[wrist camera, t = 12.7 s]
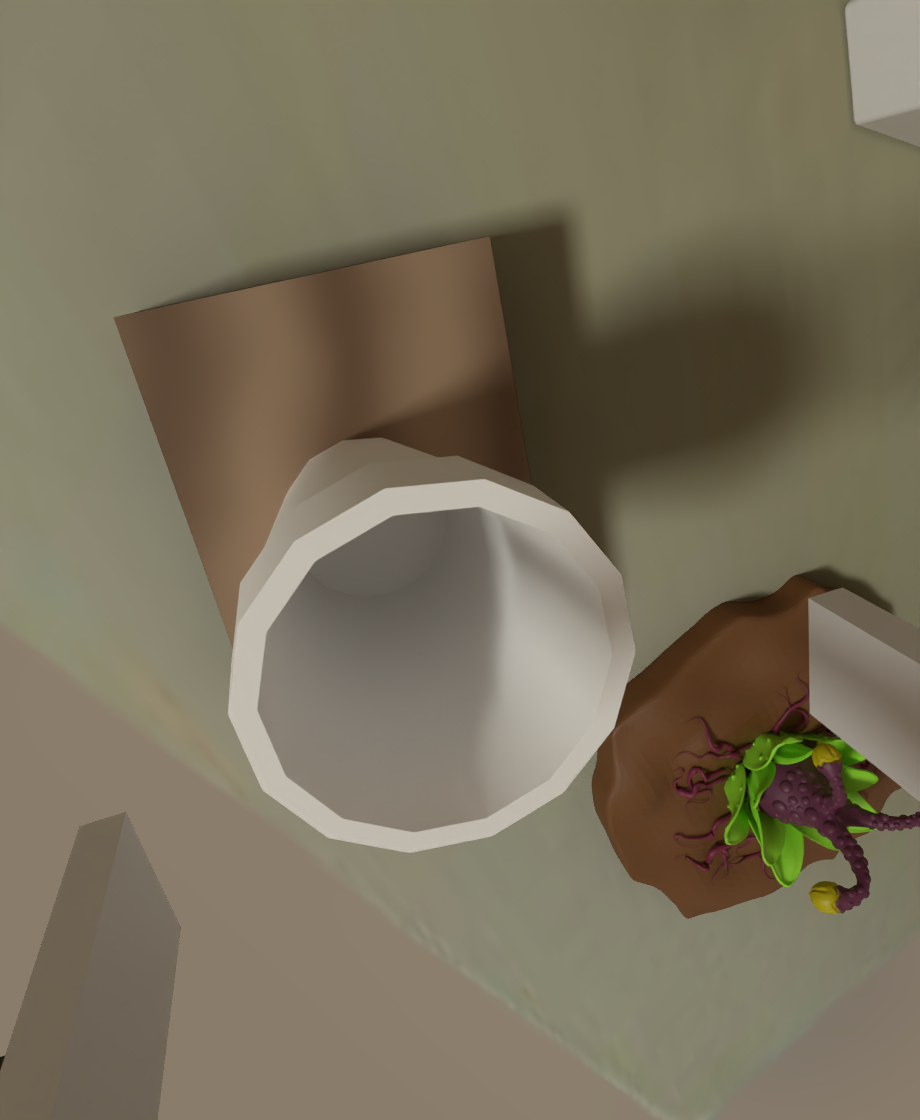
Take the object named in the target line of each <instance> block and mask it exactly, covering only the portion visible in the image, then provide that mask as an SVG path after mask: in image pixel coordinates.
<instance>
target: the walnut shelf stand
mask: <svg viewBox="0 0 920 1120" xmlns="http://www.w3.org/2000/svg"><path fill="white" fill-rule="evenodd" d="M114 320H115V323H116V325H117V328H118V331H119V334H120V336H121V339H122V342H123V345H124V348H125V350H126V353H127V356H128V359H129V361H130V364H131V367H132V370H133V373H134V375H135V378H136V381H137V384H138V386H139V389H140V392H141V395H142V397H143V400H144V403H145V406H146V409H147V411H148V414H149V417H150V420H151V422H152V425H153V428H154V431H155V434H156V436H157V439H158V442H159V445H160V447H161V450H162V453H163V456H164V458H165V461H166V464H167V467H168V470H169V472H170V475H171V478H172V481H173V483H174V486H175V489H176V492H177V495H178V497H179V500H180V503H181V506H182V508H183V511H184V514H185V517H186V519H187V522H188V525H189V528H190V531H191V533H192V536H193V539H194V542H195V544H196V547H197V550H198V553H199V556H200V558H201V561H202V564H203V567H204V569H205V572H206V575H207V578H208V580H209V583H210V586H211V589H212V592H213V594H214V597H215V600H216V603H217V605H218V608H219V611H220V614H221V617H222V619H223V622H224V625H225V628H226V630H227V633H228V636H229V639H230V641H231V644H232V647H233V644H234V635H235V625H236V616H237V607H238V597H239V588H240V582H241V581H242V579H243V578H244V576H245V575H246V573H247V572H248V571H249V569H250V568H251V566H252V565H253V563H254V562H255V560H256V559H257V557H258V556H259V554H260V553H261V551H262V550H263V548H264V547H265V544H266V542H267V539H268V537H269V535H270V532H271V530H272V527H273V525H274V522H275V520H276V518H277V515H278V513H279V510H280V508H281V506H282V503H283V501H284V498H285V496H286V494H287V493H288V490H289V489H290V487H291V486H292V484H293V483H294V481H295V480H296V479H297V477H298V476H299V474H300V473H301V471H302V470H303V468H304V467H305V465H306V464H307V462H308V461H309V460H310V459H311V458H313V457H315V456H317V455H318V454H320V453H322V452H323V451H325V450H327V449H329V448H330V447H332V446H334V445H335V444H337V443H339V442H341V441H342V440H355V439H367V438H380V437H381V438H385V439H388V440H390V441H393V442H396V443H399V444H402V445H404V446H407V447H410V448H413V449H416V450H419V451H421V452H424V453H427V454H430V455H433V456H436V457H448V456H460V457H462V458H465V459H467V460H470V461H472V462H475V463H477V464H480V465H482V466H485V467H488V468H490V469H493V470H495V471H498V472H500V473H503V474H505V475H508V476H510V477H513V478H515V479H518V480H520V481H523V482H526V483H528V484H531V478H530V472H529V466H528V461H527V455H526V449H525V443H524V437H523V431H522V425H521V419H520V413H519V407H518V401H517V395H516V389H515V383H514V377H513V371H512V365H511V360H510V354H509V348H508V342H507V336H506V330H505V324H504V318H503V312H502V306H501V300H500V294H499V288H498V282H497V276H496V270H495V264H494V259H493V253H492V247H491V241H490V236H489V237H484V238H479V239H474V240H469V241H464V242H459V243H454V244H450V245H445V246H441V247H436V248H431V249H427V250H422V251H417V252H413V253H408V254H403V255H399V256H394V257H390V258H385V259H380V260H376V261H371V262H366V263H362V264H357V265H353V266H348V267H343V268H339V269H334V270H329V271H325V272H320V273H316V274H311V275H306V276H302V277H297V278H292V279H288V280H283V281H279V282H274V283H269V284H265V285H260V286H255V287H251V288H246V289H242V290H237V291H232V292H228V293H223V294H218V295H214V296H209V297H204V298H200V299H195V300H191V301H186V302H181V303H177V304H172V305H167V306H163V307H158V308H154V309H149V310H144V311H140V312H135V313H131V314H127V315H122V316H118V317H114ZM531 485H532V484H531Z"/></svg>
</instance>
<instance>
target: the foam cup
mask: <svg viewBox="0 0 920 1120" xmlns="http://www.w3.org/2000/svg"><path fill="white" fill-rule="evenodd" d="M635 652H636V651H635V645H634V640H633V635H632V629H631V624H630V618H629V613H628V608H627V602H626V597H625V591H624V586H623V581H622V575H621V574H620V572H619V571H618V570H617V569H616V568H615V566H614V565H613V564H612V563H611V562H610V560H609V559H608V558H607V557H606V556H605V554H604V553H603V552H602V551H601V550H600V548H599V547H598V546H597V545H596V544H595V542H594V541H593V540H592V539H591V537H590V536H589V535H588V534H587V533H586V531H585V530H584V529H583V528H582V527H581V525H580V524H579V523H578V522H577V521H576V519H575V518H574V517H573V516H572V515H571V513H570V512H569V511H567V510H566V509H565V508H563V507H562V506H561V505H559V504H558V503H556V502H555V501H554V500H552V499H551V498H550V497H548V496H547V495H546V494H544V493H543V492H541V491H540V490H539V489H537V488H536V487H535V486H533V485H531V484H528V483H526V482H523V481H520V480H518V479H515V478H513V477H510V476H508V475H505V474H503V473H500V472H498V471H495V470H493V469H490V468H488V467H485V466H482V465H480V464H477V463H475V462H472V461H470V460H467V459H465V458H462V457H460V456H448V457H436V456H433V455H430V454H427V453H424V452H421V451H419V450H416V449H413V448H410V447H407V446H404V445H402V444H399V443H396V442H393V441H390V440H388V439H385V438H381V437H380V438H367V439H355V440H342V441H341V442H339V443H337V444H335V445H334V446H332V447H330V448H329V449H327V450H325V451H323V452H322V453H320V454H318V455H317V456H315V457H313V458H311V459H310V460H309V461H308V462H307V464H306V465H305V467H304V468H303V470H302V471H301V473H300V474H299V476H298V477H297V479H296V480H295V481H294V483H293V484H292V486H291V487H290V489H289V490H288V493H287V494H286V496H285V498H284V501H283V503H282V506H281V508H280V510H279V513H278V515H277V518H276V520H275V522H274V525H273V527H272V530H271V532H270V535H269V537H268V539H267V542H266V544H265V547H264V548H263V550H262V551H261V553H260V554H259V556H258V557H257V559H256V560H255V562H254V563H253V565H252V566H251V568H250V569H249V571H248V572H247V573H246V575H245V576H244V578H243V579H242V581H241V582H240V588H239V597H238V607H237V616H236V625H235V635H234V644H233V654H232V663H231V677H230V692H229V707H228V715H229V718H230V720H231V722H232V724H233V726H234V729H235V731H236V733H237V735H238V737H239V740H240V742H241V744H242V746H243V748H244V751H245V753H246V755H247V757H248V759H249V762H250V764H251V766H252V768H253V770H254V773H255V775H256V777H257V779H258V781H259V784H260V786H261V788H262V790H263V791H264V792H266V793H267V794H268V795H270V796H271V797H272V798H274V799H275V800H277V801H278V802H279V803H281V804H282V805H284V806H285V807H286V808H288V809H289V810H290V811H292V812H293V813H295V814H296V815H297V816H299V817H300V818H301V819H303V820H304V821H306V822H307V823H308V824H310V825H311V826H312V827H314V828H315V829H317V830H318V831H319V832H321V833H322V834H323V835H325V836H326V837H328V838H331V839H336V840H342V841H347V842H353V843H358V844H364V845H369V846H375V847H380V848H385V849H391V850H396V851H402V852H407V853H412V852H417V851H422V850H427V849H432V848H437V847H441V846H446V845H451V844H456V843H461V842H466V841H471V840H476V839H481V838H486V837H491V836H493V835H495V834H497V833H498V832H500V831H501V830H503V829H505V828H506V827H508V826H510V825H511V824H513V823H514V822H516V821H518V820H519V819H521V818H523V817H524V816H526V815H528V814H529V813H531V812H532V811H534V810H536V809H537V808H539V807H541V806H542V805H544V804H545V803H547V802H549V801H550V800H552V799H554V798H555V797H557V796H559V795H560V794H562V793H563V792H564V791H565V790H566V789H567V787H568V786H569V785H570V784H571V782H572V781H573V780H574V779H575V777H576V776H577V775H578V773H579V772H580V771H581V770H582V768H583V767H584V766H585V765H586V763H587V762H588V761H589V759H590V758H591V757H592V756H593V754H594V753H595V752H596V751H597V749H598V748H599V747H600V745H601V744H602V743H603V742H604V740H605V739H606V738H607V737H608V735H609V734H610V733H611V731H612V730H613V729H614V727H615V723H616V720H617V716H618V713H619V709H620V706H621V702H622V699H623V695H624V691H625V688H626V684H627V681H628V677H629V674H630V670H631V666H632V663H633V659H634V656H635Z"/></svg>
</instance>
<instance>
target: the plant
mask: <svg viewBox="0 0 920 1120" xmlns="http://www.w3.org/2000/svg"><path fill="white" fill-rule="evenodd" d="M833 590H836V589H833V588H830V587H823V586H818V585H816V584H815V583H813V582H811V581H809V580H807V579H805V578H804V577H802V576H800V575H795V576H793V577H792V578H790V579H789V580H788V581H787V582H786V583H785V584H784V585H783V586H782V587H781V588H780V589H779V590H777V591H776V592H775V593H773V594H771V595H769V596H768V597H766V598H763V599H760V600H757V601H753V602H746V603H738V602H724V603H721V604H720V605H718V606H716V607H715V608H713V609H712V610H710V611H709V612H708V613H707V614H705V615H704V616H703V617H702V618H701V619H700V620H699V621H698V622H697V623H696V624H695V625H694V626H693V627H691V628H690V629H689V630H688V631H687V632H685V633H684V634H683V635H682V636H681V637H680V638H678V639H677V640H676V641H675V642H674V643H673V644H672V645H671V646H670V647H668V648H667V649H666V650H665V651H664V652H663V653H662V654H661V655H660V656H659V657H658V658H656V659H655V660H654V661H653V662H652V663H651V664H650V665H649V666H648V667H647V668H646V669H644V670H643V671H642V672H641V673H640V674H639V675H637V676H636V677H635V678H633V679H632V680H631V681H630V682H628V683H627V684H626V688H625V691H624V695H623V699H622V702H621V706H620V709H619V713H618V716H617V720H616V723H615V727H614V729H613V730H612V731H611V733H610V734H609V735H608V737H607V738H606V739H605V740H604V742H603V743H602V744H601V745H600V747H599V748H598V755H597V763H596V768H595V770H594V773H593V778H592V793H593V801H594V806H595V810H596V813H597V815H598V817H599V819H600V821H601V823H602V825H603V827H604V829H605V831H606V833H607V835H608V837H609V840H610V842H611V844H612V847H613V849H614V851H615V853H616V854H617V856H618V858H619V859H620V861H621V863H622V864H623V866H624V867H625V869H626V871H627V872H628V874H629V875H630V877H631V878H632V879H633V880H634V881H637V882H641V883H644V884H647V885H651V886H653V887H656V888H657V889H659V890H661V891H662V892H663V893H664V894H665V895H666V896H667V897H668V898H669V899H670V900H671V901H672V902H673V903H674V904H675V905H676V906H677V908H678V909H679V911H680V912H681V913H682V915H683V916H684V917H686V918H688V919H689V918H692V917H695V916H698V915H701V914H705V913H710V912H715V911H718V910H722V909H725V908H728V907H731V906H734V905H736V904H739V903H743V902H746V901H749V900H752V899H756V898H759V897H763V896H766V895H768V894H771V893H773V892H774V891H776V890H778V889H779V888H781V887H782V886H784V887H790V886H791V885H792V884H793V883H794V882H795V880H796V879H797V877H798V875H799V873H800V872H801V871H802V870H803V869H804V868H805V867H806V866H807V865H809V864H811V863H813V862H816V861H819V860H826V859H834V858H835V856H836V855H837V853H838V852H839V851H841V852H842V853H843V854H844V858H845V859H846V860H847V861H849V863H850V865H851V869H852V871H853V872H854V873H855V875H856V878H857V885H855V886H853V887H852V888H850V889H847V888H844V887H842V886H840V885H837V884H836V883H834V882H828V881H823V882H819V883H817V884H815V885H814V886H813V887H812V889H811V892H810V893H809V895H810V897H811V900H812V903H813V904H814V906H815V907H816V908H817V909H818V910H820V911H822V912H825V913H828V914H837V913H838V912H840V913H844V912H845V911H846V910H851V909H852V908H853V907H854V906H859V905H860V904H861V901H862V900H863V899H864V898H868V896H869V886H870V882H871V877H870V875H869V870H868V868H867V866H868V861H867V859H866V858H864V856H863V854H864V852H863V849H862V848H861V847H860V846H859V845H857V841H856V840H855V838H857V837H859V836H862V835H865V834H867V833H869V832H870V831H872V830H876V829H878V830H879V831H883V830H884V829H888V830H889V831H891V830H892V831H894V830H895V829H898V830H899V831H902V830H903V829H904V828H909V829H912V828H913V827H915V826H918V827H920V812H916V813H915V814H913V815H910V816H908V817H907V816H906V815H900V817H894V816H888V815H887V814H883V813H880V812H881V810H882V808H883V806H884V804H885V802H886V800H887V798H888V797H889V796H890V794H891V793H893V792H894V791H895V790H898V789H900V788H902V787H901V786H900V785H898V784H897V783H896V782H895V781H893V780H892V779H891V778H890V777H888V776H887V775H886V774H885V773H883V772H882V771H881V770H880V769H878V768H877V767H876V766H875V765H873V764H872V763H871V762H870V761H868V760H867V759H866V758H865V757H863V756H862V755H861V754H860V753H858V752H857V751H856V750H855V749H853V748H852V747H851V746H850V745H848V744H847V743H846V742H845V741H843V740H842V739H841V738H840V737H838V736H837V735H836V734H835V733H833V732H832V731H831V730H830V729H828V728H827V727H826V726H825V725H823V724H822V723H821V722H820V721H818V720H817V719H816V718H815V717H813V716H812V715H811V714H810V694H809V614H808V598H810V597H814V596H817V595H820V594H823V593H826V592H830V591H833ZM919 802H920V801H919Z"/></svg>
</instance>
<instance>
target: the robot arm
mask: <svg viewBox="0 0 920 1120" xmlns="http://www.w3.org/2000/svg"><path fill="white" fill-rule="evenodd" d="M808 614H809V694H810V714H811V715H812V716H813V717H815V718H816V719H817V720H818V721H820V722H821V723H822V724H823V725H825V726H826V727H827V728H828V729H830V730H831V731H832V732H833V733H835V734H836V735H837V736H838V737H840V738H841V739H842V740H843V741H845V742H846V743H847V744H848V745H850V746H851V747H852V748H853V749H855V750H856V751H857V752H858V753H860V754H861V755H862V756H863V757H865V758H866V759H867V760H868V761H870V762H871V763H872V764H873V765H875V766H876V767H877V768H878V769H880V770H881V771H882V772H883V773H885V774H886V775H887V776H888V777H890V778H891V779H892V780H893V781H895V782H896V783H897V784H898V785H900V786H901V787H902V788H903V789H905V790H906V791H907V792H908V793H910V794H911V795H912V796H913V797H915V798H916V799H917V800H918V801H920V629H919V628H917V627H915V626H913V625H911V624H909V623H908V622H906V621H904V620H902V619H900V618H898V617H896V616H895V615H893V614H891V613H889V612H887V611H885V610H883V609H882V608H880V607H878V606H876V605H874V604H872V603H870V602H869V601H867V600H865V599H863V598H861V597H859V596H857V595H856V594H854V593H852V592H850V591H848V590H846V589H844V588H843V587H842V588H839V589H836V590H833V591H830V592H826V593H823V594H820V595H817V596H814V597H810V598H808ZM180 929H181V927H180V924H179V922H178V920H177V918H176V916H175V914H174V912H173V910H172V908H171V906H170V904H169V901H168V899H167V897H166V895H165V893H164V891H163V889H162V887H161V884H160V882H159V881H158V878H157V876H156V874H155V872H154V870H153V868H152V866H151V863H150V861H149V859H148V857H147V855H146V853H145V851H144V849H143V847H142V845H141V843H140V840H139V838H138V836H137V834H136V832H135V830H134V828H133V826H132V824H131V821H130V819H129V818H128V815H127V813H126V812H124V813H121V814H118V815H115V816H111V817H108V818H105V819H102V820H99V821H95V822H92V823H89V824H86V825H83V826H80V827H79V830H78V833H77V836H76V839H75V842H74V845H73V848H72V852H71V855H70V858H69V861H68V864H67V867H66V870H65V873H64V876H63V879H62V882H61V886H60V888H59V892H58V895H57V898H56V901H55V904H54V907H53V910H52V913H51V916H50V919H49V923H48V925H47V928H46V932H45V935H44V938H43V941H42V944H41V947H40V950H39V953H38V956H37V959H36V962H35V966H34V968H33V972H32V975H31V978H30V981H29V984H28V987H27V990H26V993H25V996H24V999H23V1002H22V1005H21V1008H20V1012H19V1015H18V1018H17V1021H16V1024H15V1027H14V1030H13V1033H12V1036H11V1039H10V1042H9V1045H8V1049H7V1052H6V1055H5V1056H2V1057H0V1120H158V1112H159V1104H160V1095H161V1086H162V1079H163V1070H164V1062H165V1054H166V1046H167V1037H168V1028H169V1021H170V1012H171V1004H172V995H173V987H174V979H175V971H176V962H177V954H178V946H179V938H180Z"/></svg>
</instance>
